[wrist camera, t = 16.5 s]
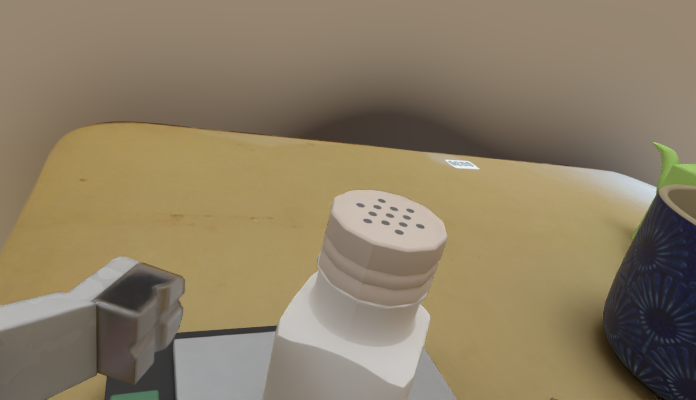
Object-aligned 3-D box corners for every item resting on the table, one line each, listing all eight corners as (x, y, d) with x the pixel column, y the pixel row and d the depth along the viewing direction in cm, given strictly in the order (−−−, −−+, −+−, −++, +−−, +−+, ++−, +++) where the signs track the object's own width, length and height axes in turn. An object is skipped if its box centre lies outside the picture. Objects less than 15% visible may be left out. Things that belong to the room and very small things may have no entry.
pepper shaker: (387, 430, 18) (469, 212, 14) (356, 532, 14) (454, 280, 10) (291, 388, 19) (344, 169, 15) (240, 475, 15) (290, 219, 11)
